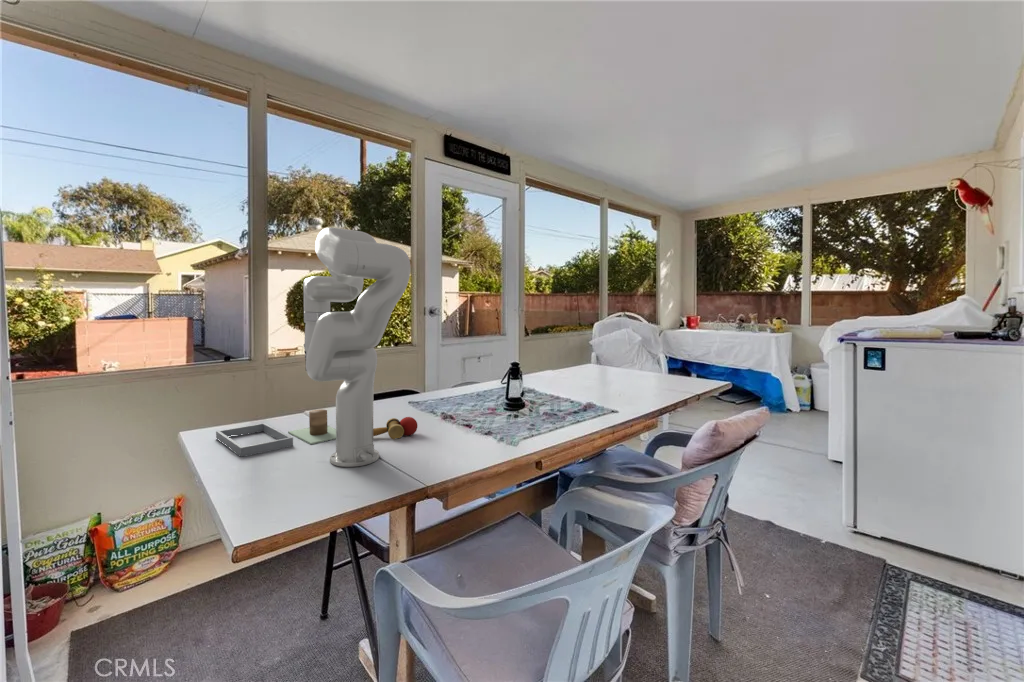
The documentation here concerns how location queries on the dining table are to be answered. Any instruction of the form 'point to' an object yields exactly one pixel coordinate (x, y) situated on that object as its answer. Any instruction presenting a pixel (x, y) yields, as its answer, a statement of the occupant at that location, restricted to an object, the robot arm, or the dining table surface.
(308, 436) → the pad
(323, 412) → the brown wooden cylinder
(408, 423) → the kendama
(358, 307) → the robot arm
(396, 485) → the dining table surface
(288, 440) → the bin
